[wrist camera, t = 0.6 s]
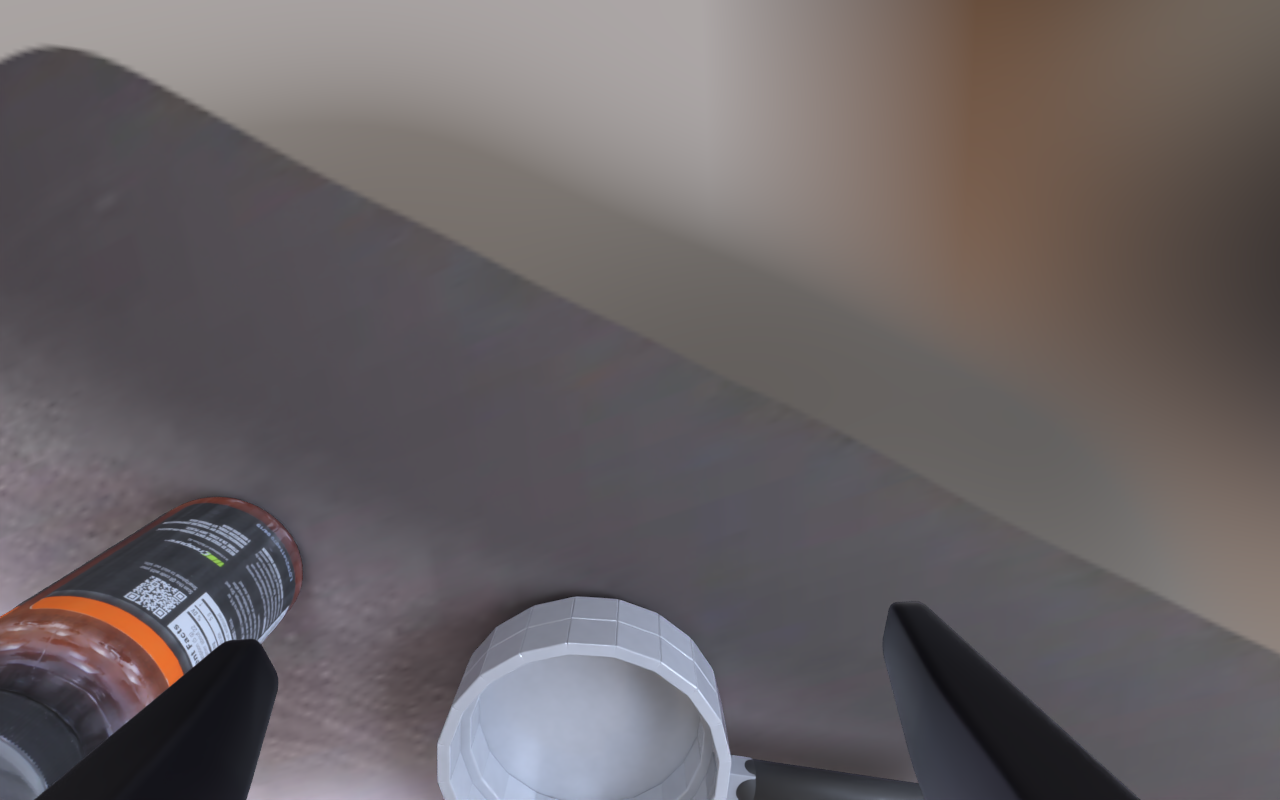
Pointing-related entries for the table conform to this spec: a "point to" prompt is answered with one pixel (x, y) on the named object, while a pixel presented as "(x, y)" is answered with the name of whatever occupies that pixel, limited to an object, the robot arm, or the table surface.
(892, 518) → the table surface
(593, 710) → the pan
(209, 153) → the table surface
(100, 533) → the table surface
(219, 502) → the supplement bottle
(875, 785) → the pan handle
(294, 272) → the table surface
